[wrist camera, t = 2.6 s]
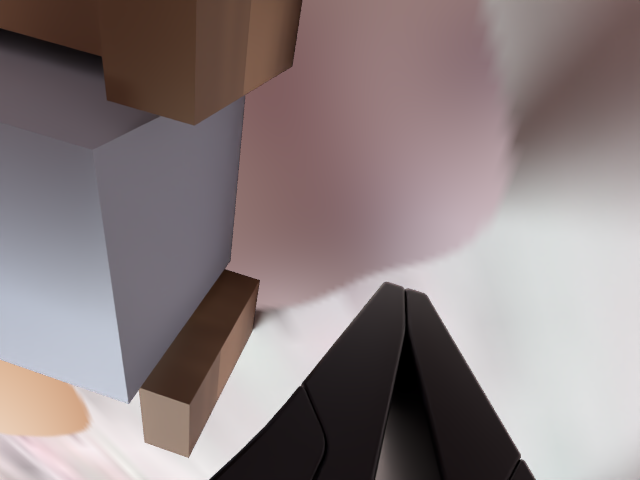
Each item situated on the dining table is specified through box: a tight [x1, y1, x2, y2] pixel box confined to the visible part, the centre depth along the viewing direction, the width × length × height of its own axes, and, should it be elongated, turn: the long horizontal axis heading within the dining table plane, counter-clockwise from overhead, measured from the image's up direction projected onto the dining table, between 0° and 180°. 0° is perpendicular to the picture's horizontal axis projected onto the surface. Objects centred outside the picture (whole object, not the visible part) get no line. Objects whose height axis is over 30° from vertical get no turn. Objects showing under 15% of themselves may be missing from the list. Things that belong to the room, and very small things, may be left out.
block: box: [0, 28, 245, 404], centre depth 9 cm, size 8×6×5 cm
